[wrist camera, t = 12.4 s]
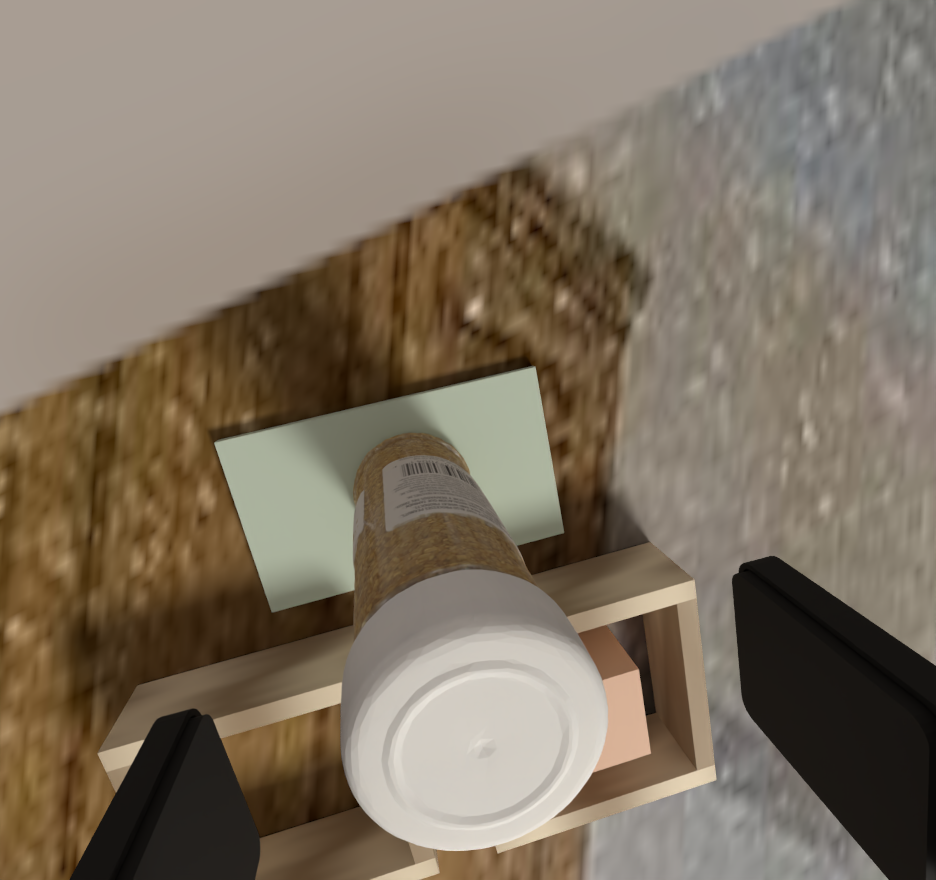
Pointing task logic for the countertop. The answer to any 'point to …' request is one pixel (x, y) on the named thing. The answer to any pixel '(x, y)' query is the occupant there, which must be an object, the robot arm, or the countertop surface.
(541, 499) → the mat
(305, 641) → the box
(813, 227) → the countertop surface
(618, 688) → the terracotta cube
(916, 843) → the robot arm
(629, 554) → the box
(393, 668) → the sprinkles bottle
